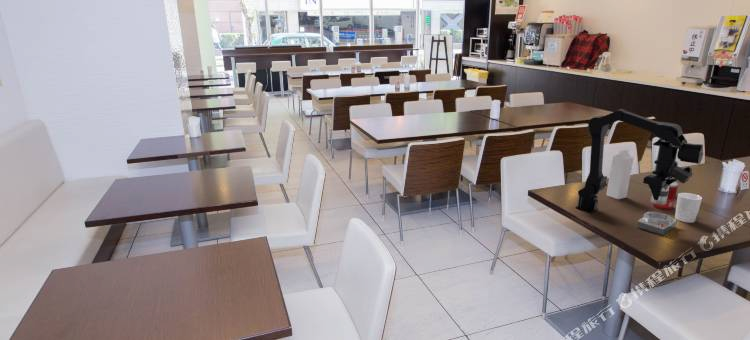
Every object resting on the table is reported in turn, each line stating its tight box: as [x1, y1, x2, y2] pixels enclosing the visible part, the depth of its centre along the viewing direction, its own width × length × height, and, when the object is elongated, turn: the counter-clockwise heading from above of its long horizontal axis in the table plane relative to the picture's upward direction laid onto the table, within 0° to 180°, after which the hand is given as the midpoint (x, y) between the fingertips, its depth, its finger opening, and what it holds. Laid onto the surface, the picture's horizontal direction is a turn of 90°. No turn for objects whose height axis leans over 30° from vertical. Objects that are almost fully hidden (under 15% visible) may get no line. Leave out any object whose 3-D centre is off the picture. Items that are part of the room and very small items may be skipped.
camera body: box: [636, 211, 678, 236], centre depth 169 cm, size 9×12×4 cm
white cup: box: [674, 192, 703, 224], centre depth 175 cm, size 8×8×10 cm
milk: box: [606, 148, 634, 200], centre depth 198 cm, size 6×6×22 cm
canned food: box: [652, 181, 679, 211], centre depth 188 cm, size 8×8×11 cm
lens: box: [650, 184, 669, 205], centre depth 165 cm, size 5×5×7 cm
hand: (659, 198), depth 166 cm, fingers closed on lens, 5 cm apart
